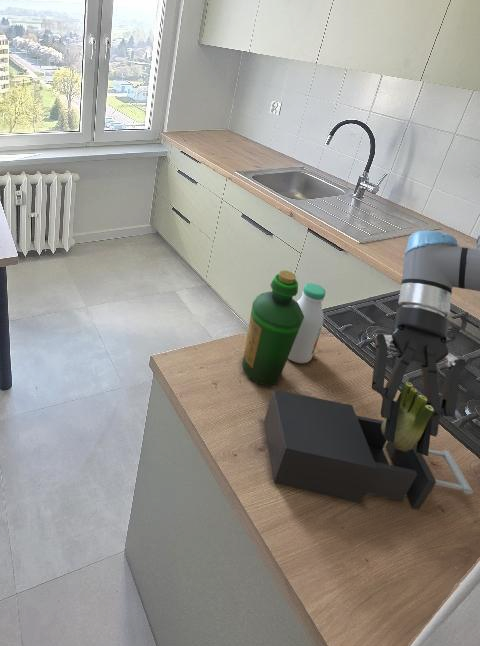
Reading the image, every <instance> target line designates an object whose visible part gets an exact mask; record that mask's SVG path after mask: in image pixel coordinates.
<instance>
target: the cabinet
mask: <svg viewBox="0 0 480 646" xmlns="http://www.w3.org/2000/svg"><path fill="white" fill-rule="evenodd" d="M356 415H357V414H356V411H355V409H354V407H353V404H350V403H343V402H339V401H334V400H329V399H325V398H324V399H323V398H319V397H314V396H309V395H303V394H299V393H294V392H289V391H284V390H279V389H273V390H272V394H271V397H270V400H269V404H268V407H267V410H266V413H265V416H264V420H263V426H264V431H265V432H264V433H265V439H266V444H267V449H268V450H267V451H268V455H269V456H268V457H269V462H270V467H271V474H272V480H273V483H274V484H278V485H282V486H285V487H286V486H287V487H291V488H295V489H299V490H302V491H303V490H304V491H307V492H312V493H316V494H321V495H325V496H329V497H333V498H337V499H341V500H346V501H351V502H354V503H358V504H361V502H362V501H363V499H364V497H365V495H366V494H367V493H366V491H367V489H368V487H369V485H370V483H371V481H372V479H373V477H374V475H375V472H376V471H377V466H376V463H375V461H374V458H373V456H372V453H371V451H370V448H369V446H368V443H367V441H366V438H365V436H364V433H363V431H362V429H361V426H360V424H359V421H358V419H357V416H358V415H357V416H356Z"/></svg>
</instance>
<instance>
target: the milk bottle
mask: <svg viewBox="0 0 480 646" xmlns="http://www.w3.org/2000/svg"><path fill="white" fill-rule="evenodd" d="M301 293H302V296H301V297H300V298H299V299H298V300H297V301H296V302H297V303H298V304H299V306H300V308H301V311H302V313H303V315H304V319H303V321H302V324H301V326H300V329H299V331H298V334H297V336H296V339H295V341H294V344H293V346H292V349H291V351H290V354H289V356H288V359H287V360H290V361H292V362H294V363H297V364H306V363H309V362H310V361H311V360H312V358H313V357H314V354H315V351H316V347H317V345H318V342H319V339H320V336H321V332H322V328H323V325H324V320H325V317H324V310H323V307H322V306H323V305H322V302H323V301H324V299H325V296H326V290H325V288H324V287H323V286H322V285H320V284H317V283H312V282H308V283H305V285H304V286H303V290H302V292H301Z"/></svg>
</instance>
